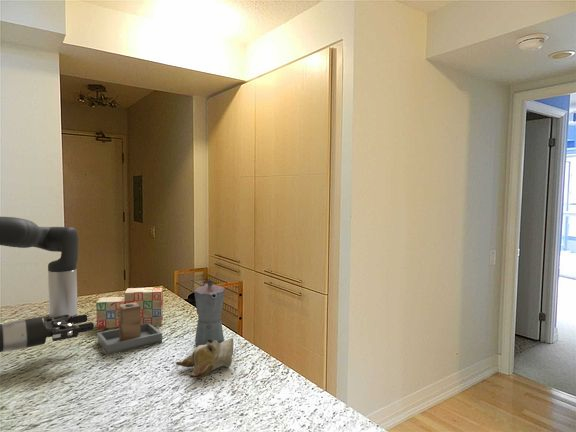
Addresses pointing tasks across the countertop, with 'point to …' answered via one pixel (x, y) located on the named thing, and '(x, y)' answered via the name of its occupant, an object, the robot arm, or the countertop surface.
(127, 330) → the walnut block
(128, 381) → the countertop surface
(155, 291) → the stack of blocks
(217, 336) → the moka pot
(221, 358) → the ceramic sculpture
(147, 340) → the charcoal tray
